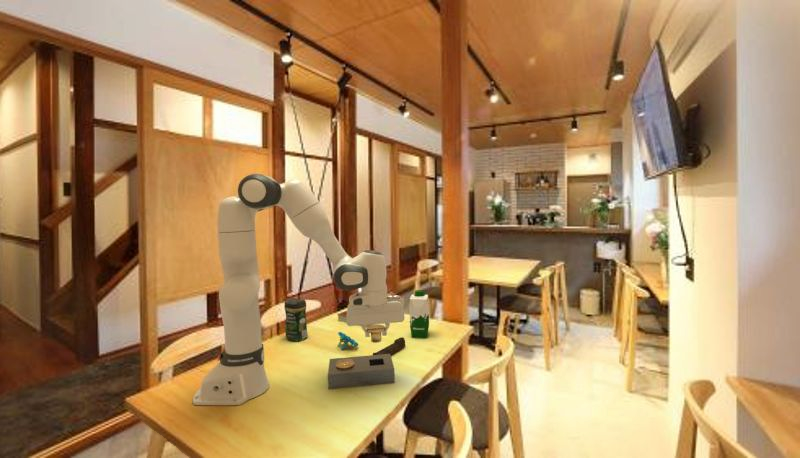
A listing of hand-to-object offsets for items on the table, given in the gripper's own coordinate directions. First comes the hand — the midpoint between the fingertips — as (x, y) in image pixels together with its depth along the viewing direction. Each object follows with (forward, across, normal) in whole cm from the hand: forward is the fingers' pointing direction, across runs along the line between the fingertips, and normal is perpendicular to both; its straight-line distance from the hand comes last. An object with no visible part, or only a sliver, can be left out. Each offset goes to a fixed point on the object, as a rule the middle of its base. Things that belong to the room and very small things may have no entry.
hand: (375, 335), depth 123 cm
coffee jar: (+15, +34, -43) cm, 56 cm away
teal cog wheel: (+15, +10, -28) cm, 33 cm away
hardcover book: (+15, +4, -62) cm, 64 cm away
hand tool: (+15, -7, -18) cm, 24 cm away
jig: (+14, +6, 0) cm, 15 cm away
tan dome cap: (+2, 0, 0) cm, 2 cm away
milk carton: (+15, -22, -35) cm, 44 cm away
